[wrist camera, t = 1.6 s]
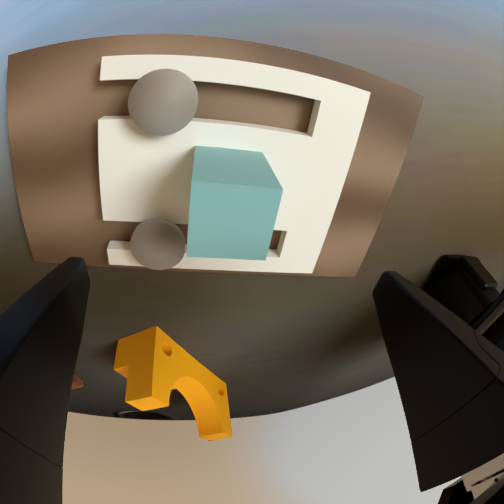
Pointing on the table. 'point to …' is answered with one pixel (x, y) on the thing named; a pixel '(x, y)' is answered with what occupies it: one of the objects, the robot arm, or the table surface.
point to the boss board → (84, 99)
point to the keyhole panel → (288, 154)
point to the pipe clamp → (172, 380)
